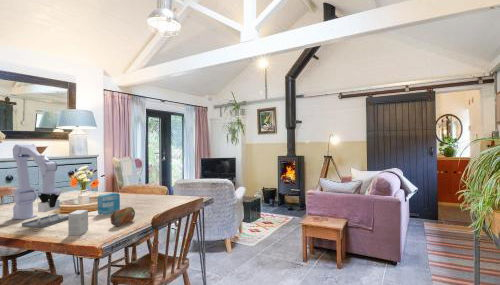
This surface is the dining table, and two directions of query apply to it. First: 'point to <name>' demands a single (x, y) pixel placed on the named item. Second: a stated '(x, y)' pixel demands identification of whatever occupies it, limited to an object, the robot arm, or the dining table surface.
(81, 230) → the small box
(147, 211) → the dining table surface
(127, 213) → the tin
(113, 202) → the blue box
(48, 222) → the pin tray
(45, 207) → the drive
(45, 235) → the dining table surface
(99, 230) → the dining table surface
